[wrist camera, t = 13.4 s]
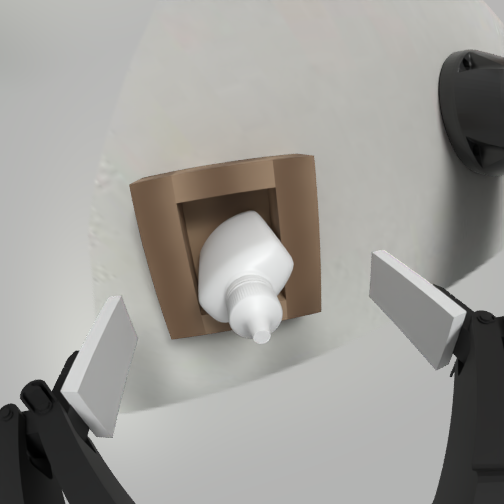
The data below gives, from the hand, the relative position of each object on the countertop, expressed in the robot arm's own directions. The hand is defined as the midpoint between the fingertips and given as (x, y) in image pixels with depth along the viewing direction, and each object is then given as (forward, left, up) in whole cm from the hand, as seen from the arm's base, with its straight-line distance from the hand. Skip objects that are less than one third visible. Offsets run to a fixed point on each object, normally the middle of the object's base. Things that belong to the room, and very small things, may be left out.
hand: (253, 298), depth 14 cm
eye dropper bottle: (0, 0, -9) cm, 9 cm away
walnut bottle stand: (0, 0, -10) cm, 10 cm away
